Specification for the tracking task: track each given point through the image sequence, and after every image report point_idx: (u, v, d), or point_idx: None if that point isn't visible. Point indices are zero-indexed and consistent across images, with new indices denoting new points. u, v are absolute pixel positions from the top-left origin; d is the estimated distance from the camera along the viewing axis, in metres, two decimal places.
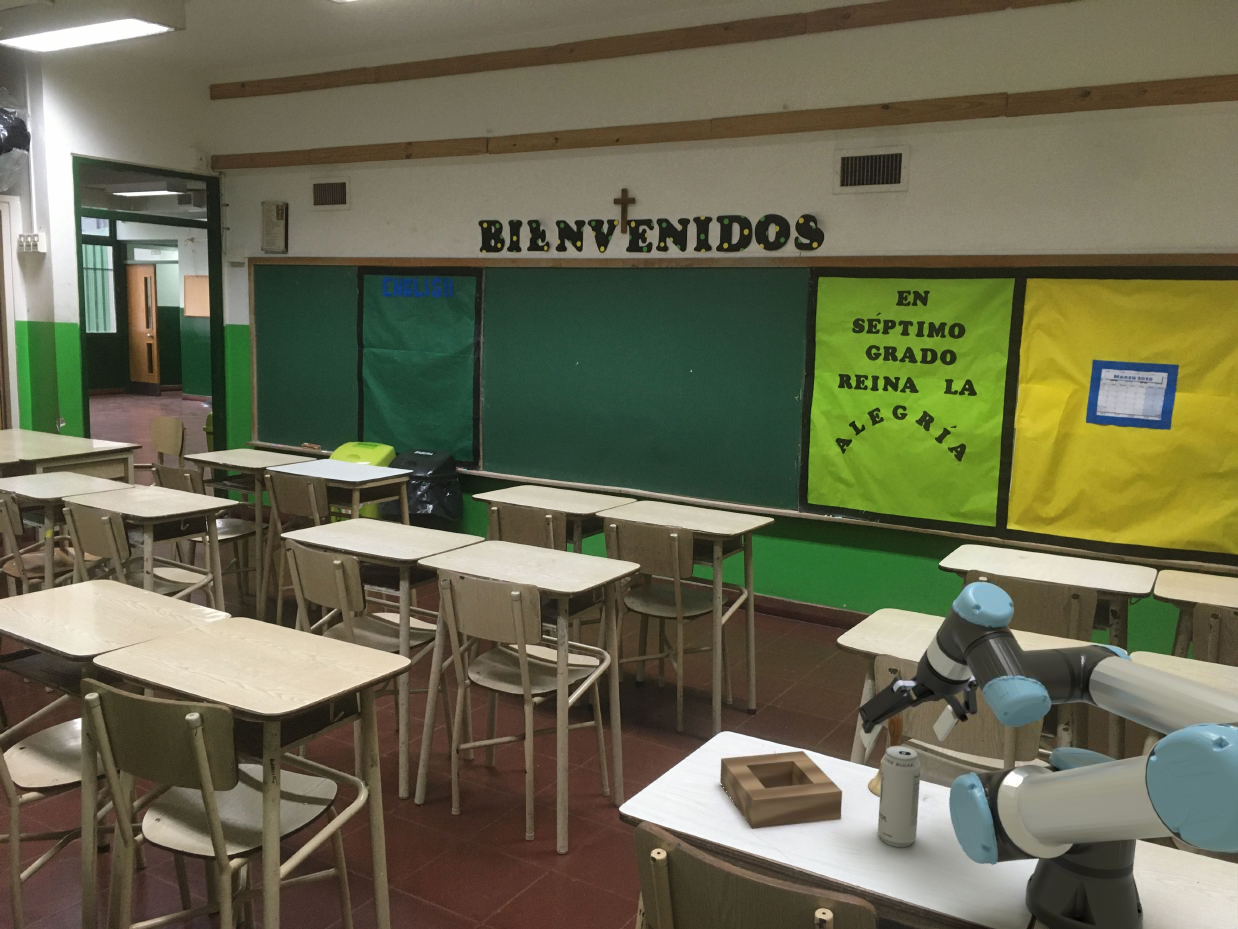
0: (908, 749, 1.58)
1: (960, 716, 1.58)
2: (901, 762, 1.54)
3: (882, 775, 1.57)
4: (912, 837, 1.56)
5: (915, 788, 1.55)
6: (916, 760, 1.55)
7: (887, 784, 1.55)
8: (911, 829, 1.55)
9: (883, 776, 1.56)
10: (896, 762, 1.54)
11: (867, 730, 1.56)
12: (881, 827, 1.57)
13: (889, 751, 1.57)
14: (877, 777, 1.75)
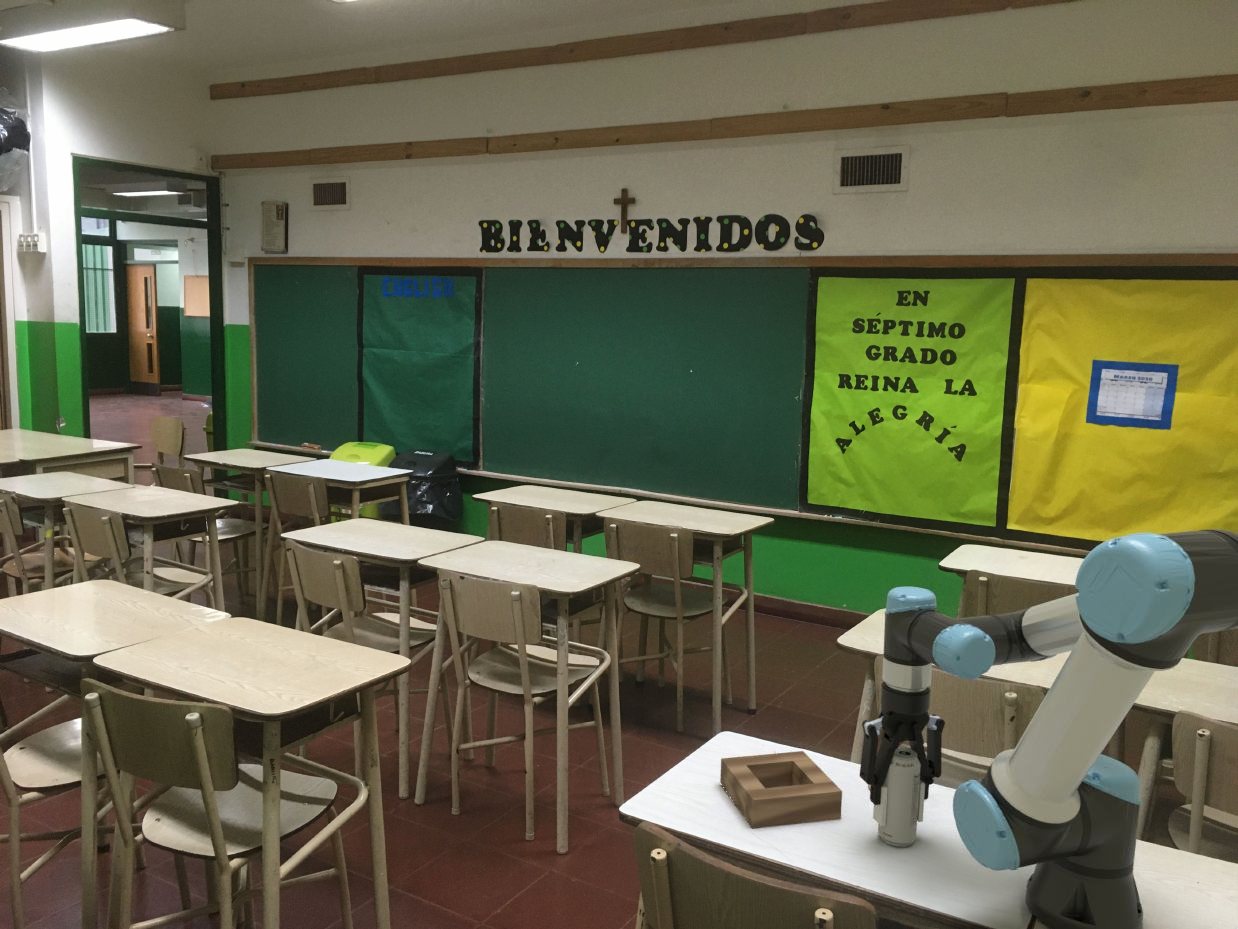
0: (908, 749, 1.58)
1: (926, 778, 1.57)
2: (901, 762, 1.54)
3: None
4: (912, 837, 1.56)
5: (915, 788, 1.55)
6: (916, 760, 1.55)
7: (887, 784, 1.55)
8: (910, 829, 1.55)
9: None
10: (896, 762, 1.54)
11: (875, 799, 1.56)
12: (881, 826, 1.57)
13: None
14: None
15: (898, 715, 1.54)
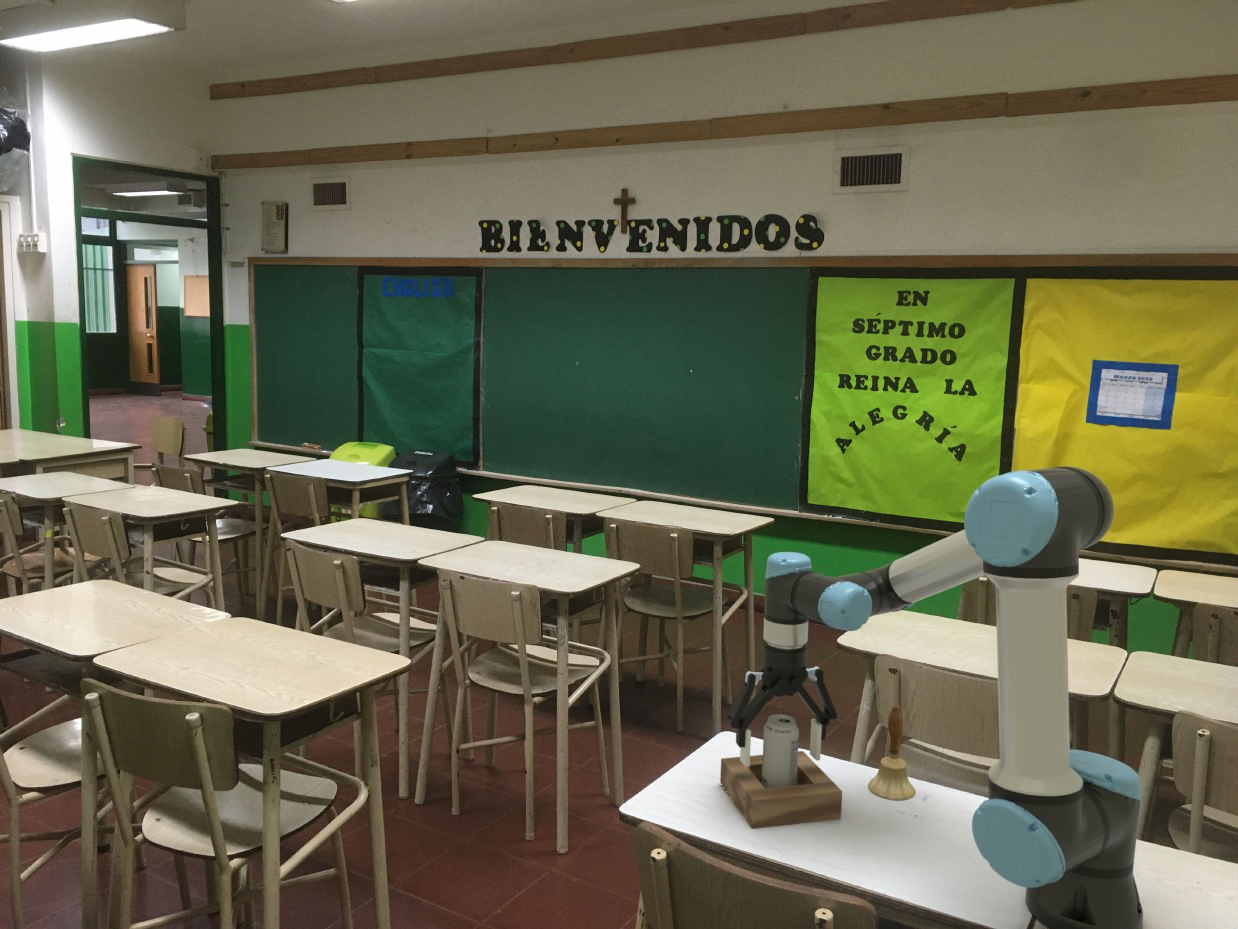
0: (788, 717, 1.70)
1: (822, 721, 1.69)
2: (779, 728, 1.66)
3: (764, 741, 1.69)
4: None
5: (793, 753, 1.67)
6: (794, 727, 1.67)
7: (767, 749, 1.68)
8: None
9: (764, 742, 1.69)
10: (775, 729, 1.67)
11: (740, 742, 1.66)
12: None
13: (770, 719, 1.69)
14: (877, 777, 1.75)
15: (779, 674, 1.66)
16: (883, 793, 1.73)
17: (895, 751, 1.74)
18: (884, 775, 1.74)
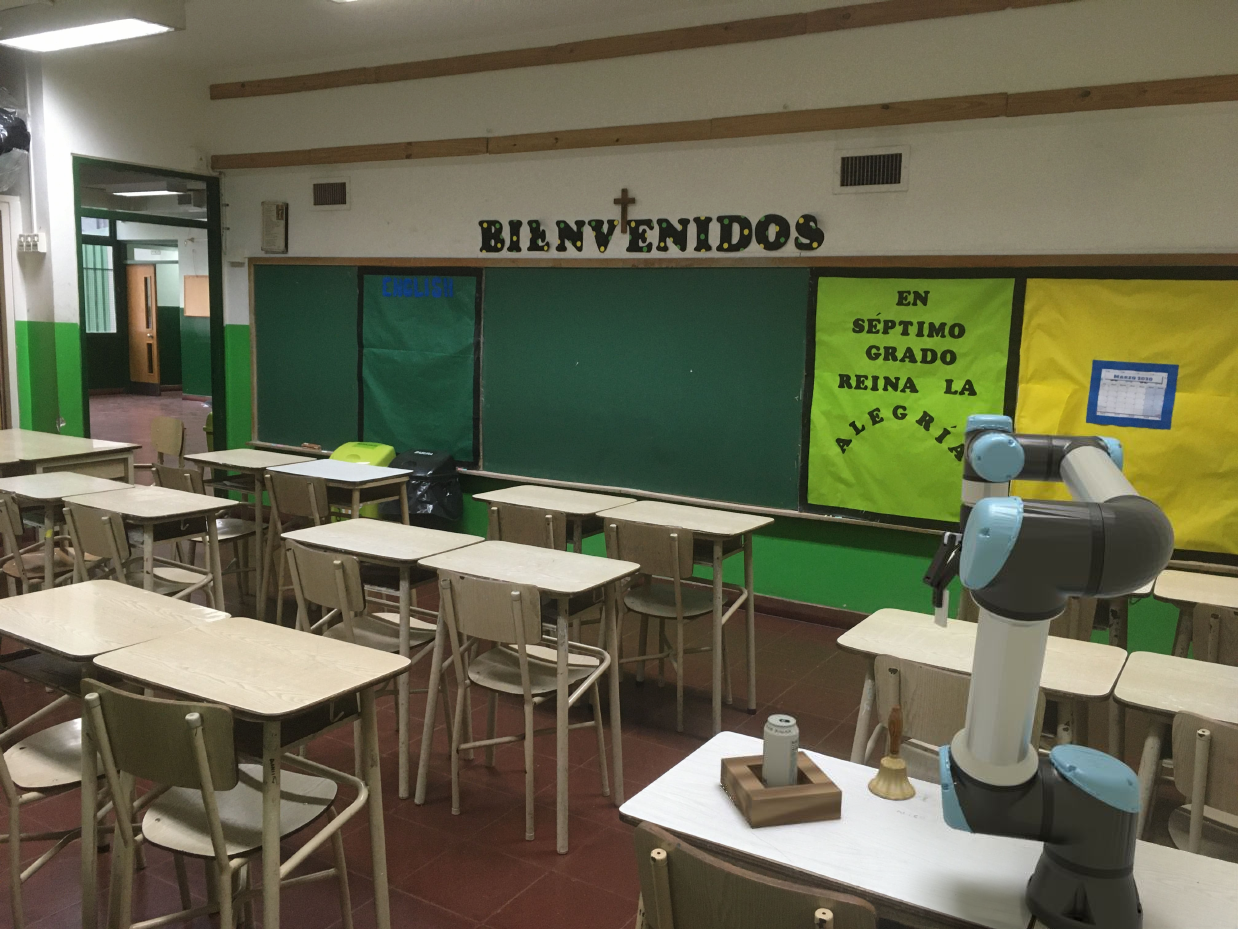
0: (789, 717, 1.70)
1: None
2: (780, 729, 1.66)
3: (764, 741, 1.69)
4: None
5: (793, 753, 1.67)
6: (795, 727, 1.67)
7: (767, 749, 1.68)
8: None
9: (764, 742, 1.69)
10: (775, 729, 1.67)
11: (937, 602, 1.67)
12: None
13: (770, 719, 1.69)
14: (877, 777, 1.75)
15: None
16: (883, 793, 1.73)
17: (895, 751, 1.74)
18: (884, 775, 1.74)
